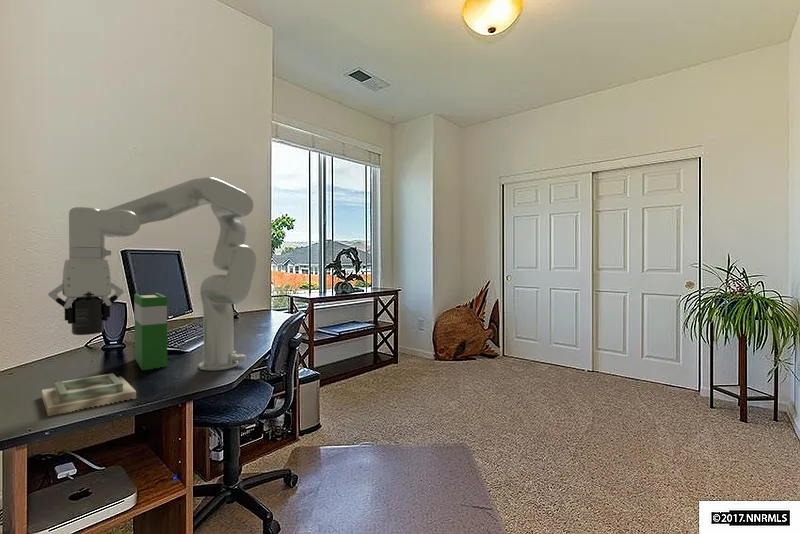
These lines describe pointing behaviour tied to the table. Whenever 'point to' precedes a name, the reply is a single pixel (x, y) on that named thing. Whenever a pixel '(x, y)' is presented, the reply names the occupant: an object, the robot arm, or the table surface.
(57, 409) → the socket board
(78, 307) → the supplement bottle
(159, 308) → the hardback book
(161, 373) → the table surface
